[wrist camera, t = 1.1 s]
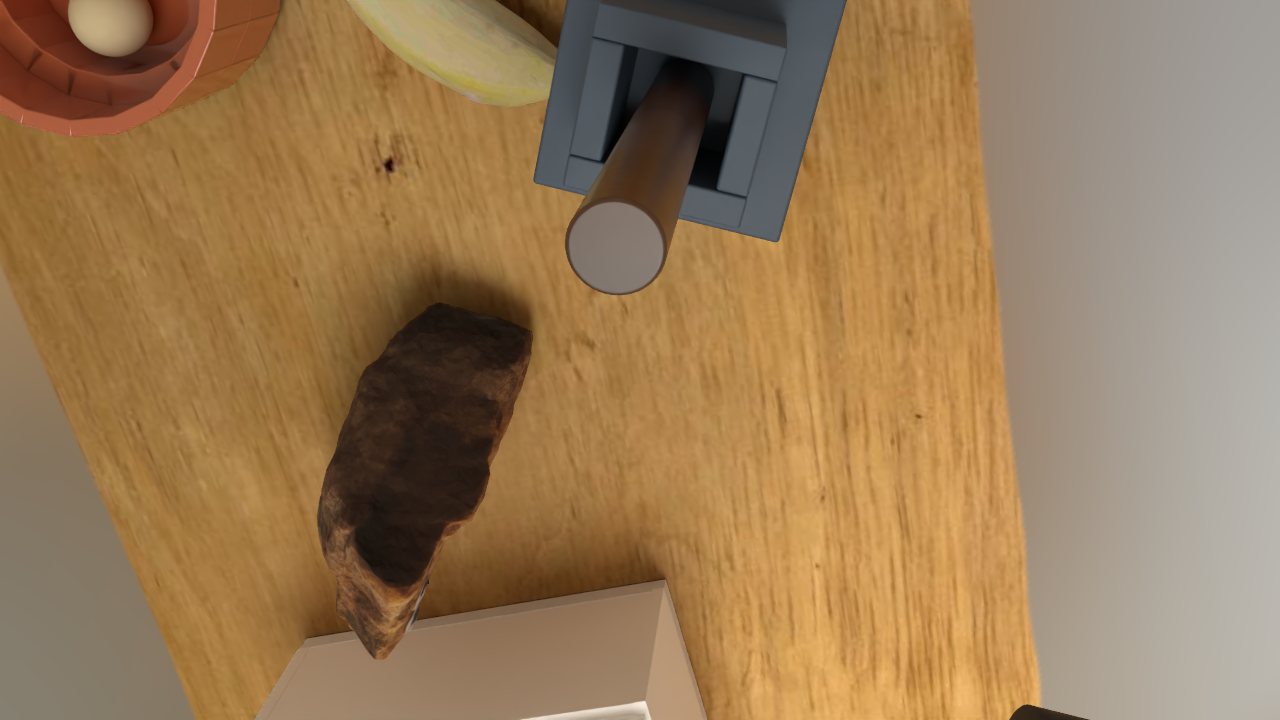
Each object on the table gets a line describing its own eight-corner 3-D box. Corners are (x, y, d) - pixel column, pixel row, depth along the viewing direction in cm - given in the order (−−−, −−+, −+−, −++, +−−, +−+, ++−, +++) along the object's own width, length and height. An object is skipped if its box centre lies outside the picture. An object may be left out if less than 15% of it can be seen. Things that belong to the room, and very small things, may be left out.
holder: (635, -95, 41) (553, -73, 26) (832, -48, 40) (861, 2, 26) (595, 102, 43) (500, 224, 29) (779, 147, 43) (777, 292, 29)
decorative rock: (454, 551, 52) (377, 713, 42) (329, 492, 51) (221, 641, 41) (565, 330, 47) (508, 454, 37) (429, 262, 47) (335, 369, 37)
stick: (661, 51, 31) (575, 186, 18) (720, 66, 31) (676, 211, 18) (647, 111, 31) (556, 283, 18) (706, 125, 31) (653, 307, 18)
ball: (95, -36, 43) (52, -30, 40) (169, -18, 43) (130, -11, 40) (93, 40, 44) (51, 52, 41) (165, 58, 44) (127, 70, 41)
